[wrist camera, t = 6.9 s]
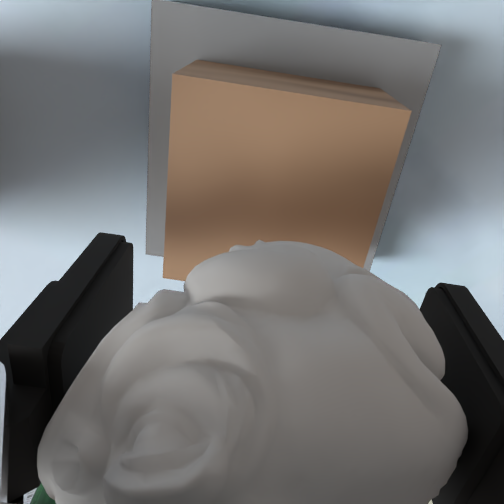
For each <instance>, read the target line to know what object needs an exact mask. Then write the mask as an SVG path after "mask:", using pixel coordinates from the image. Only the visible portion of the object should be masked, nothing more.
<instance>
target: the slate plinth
mask: <svg viewBox="0 0 504 504" xmlns="http://www.w3.org/2000/svg"><path fill="white" fill-rule="evenodd" d="M440 48H441V45H439V44H434V43H428V42H423V41H417V40H411V39H405V38H399V37H392V36H386V35H380V34H374V33H367V32H361V31H355V30H349V29H342V28H336V27H330V26H324V25H317V24H311V23H305V22H299V21H292V20H286V19H280V18H274V17H267V16H261V15H255V14H248V13H242V12H236V11H230V10H223V9H217V8H211V7H205V6H198V5H192V4H186V3H180V2H173V1H167V0H152V8H151V50H150V92H149V134H148V176H147V219H146V254H148V255H155V256H162V257H164V241H165V220H166V199H167V177H168V156H169V135H170V114H171V92H172V74H173V73H175V72H176V71H178V70H180V69H182V68H183V67H185V66H187V65H188V64H190V63H192V62H194V61H195V60H203V61H209V62H215V63H222V64H228V65H234V66H241V67H247V68H254V69H260V70H266V71H273V72H279V73H285V74H292V75H298V76H305V77H311V78H317V79H324V80H330V81H336V82H343V83H349V84H356V85H362V86H368V87H375V88H380V89H382V90H383V91H385V92H386V93H387V94H389V95H390V96H392V97H393V98H394V99H396V100H397V101H398V102H400V103H401V104H403V105H404V106H405V107H407V108H408V109H410V110H411V111H412V112H411V115H410V118H409V121H408V125H407V128H406V131H405V134H404V137H403V141H402V144H401V147H400V150H399V154H398V157H397V160H396V163H395V167H394V170H393V173H392V176H391V180H390V183H389V186H388V189H387V193H386V196H385V199H384V202H383V205H382V209H381V212H380V215H379V218H378V222H377V225H376V228H375V231H374V235H373V238H372V241H371V244H370V248H369V251H368V254H367V257H366V261H365V264H364V267H363V268H364V269H366V270H367V271H370V268H371V265H372V262H373V259H374V256H375V252H376V249H377V246H378V243H379V240H380V237H381V234H382V230H383V227H384V224H385V221H386V218H387V215H388V212H389V209H390V205H391V202H392V199H393V196H394V193H395V190H396V187H397V183H398V180H399V177H400V174H401V171H402V168H403V165H404V161H405V158H406V155H407V152H408V149H409V146H410V143H411V139H412V136H413V133H414V130H415V127H416V124H417V121H418V117H419V114H420V111H421V108H422V105H423V102H424V99H425V95H426V92H427V89H428V86H429V83H430V80H431V77H432V74H433V70H434V67H435V64H436V61H437V58H438V55H439V52H440Z"/></svg>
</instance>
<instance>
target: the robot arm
mask: <svg viewBox="0 0 504 504" xmlns="http://www.w3.org/2000/svg"><path fill="white" fill-rule="evenodd" d="M132 310H133V244H132V243H128V242H126V239H125V237H124V236H121V235H115V234H108V233H98V234H97V236H96V237H95V238H94V239H93V240H92V242H91V243H90V244H89V245H88V246H87V248H86V249H85V250H84V251H83V252H82V254H81V255H80V256H79V257H78V259H77V260H76V261H75V262H74V263H73V265H72V266H71V267H70V268H69V269H68V271H67V272H66V273H65V274H64V275H63V277H62V278H61V279H60V280H59V281H51V282H50V283H49V284H48V285H47V286H46V287H45V288H44V289H43V291H42V292H41V293H40V294H39V295H38V296H37V298H36V299H35V300H34V301H33V302H32V303H31V305H30V306H29V307H28V308H27V309H26V310H25V312H24V313H23V314H22V315H21V316H20V317H19V319H18V320H17V321H16V322H15V323H14V324H13V326H12V327H11V328H10V329H9V330H8V331H7V333H6V334H5V335H4V336H3V337H2V338H1V340H0V504H27V493H28V492H30V491H32V490H33V489H35V488H37V487H39V486H40V484H41V481H40V479H39V476H38V469H37V453H38V446H39V444H40V441H41V439H42V436H43V433H44V431H45V428H46V426H47V425H48V423H49V421H50V420H51V418H52V416H53V415H54V413H55V411H56V410H57V408H58V406H59V404H60V403H61V401H62V399H63V398H64V396H65V394H66V393H67V391H68V389H69V388H70V386H71V385H72V383H73V381H74V380H75V378H76V377H77V375H78V374H79V372H80V371H81V369H82V368H83V366H84V365H85V364H86V362H87V361H88V359H89V358H90V356H91V355H92V353H93V352H94V351H95V349H96V348H97V346H98V345H99V343H100V342H101V340H102V339H103V338H104V337H105V336H106V335H107V334H108V333H109V332H110V331H111V329H112V328H113V327H114V326H115V325H117V324H118V323H119V322H120V321H121V320H122V319H123V318H124V317H126V316H127V315H128V314H129V313H130V312H131V311H132ZM420 311H421V313H422V315H423V317H424V319H425V320H426V322H427V323H428V325H429V326H430V327H431V329H432V330H433V332H434V334H435V336H436V338H437V340H438V342H439V344H440V346H441V348H442V351H443V354H444V358H445V374H444V376H443V378H442V379H441V380H440V381H441V382H442V383H443V384H444V385H445V386H446V387H447V388H448V389H449V390H450V391H451V392H452V393H453V394H454V396H455V397H456V399H457V400H458V402H459V403H460V405H461V407H462V409H463V412H464V414H465V416H466V420H467V426H468V439H467V442H466V444H465V446H464V448H463V450H462V455H461V456H460V457H459V458H458V460H457V466H456V468H455V470H454V471H453V473H452V474H451V476H450V478H449V479H448V481H447V484H445V485H444V486H443V487H442V488H440V491H439V495H438V496H436V497H435V498H433V499H432V502H433V504H504V340H503V339H502V338H501V336H500V335H499V333H498V332H497V330H496V329H495V328H494V326H493V325H492V323H491V322H490V320H489V319H488V317H487V316H486V315H485V313H484V312H483V310H482V309H481V307H480V306H479V305H478V303H477V302H476V300H475V299H474V297H473V296H472V295H471V293H470V292H469V290H468V289H467V288H466V287H465V286H460V285H453V284H446V283H439V284H437V285H436V287H435V288H433V287H431V288H429V289H428V291H427V293H426V295H425V298H424V300H423V303H422V305H421V308H420Z"/></svg>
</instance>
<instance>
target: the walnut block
mask: <svg viewBox="0 0 504 504" xmlns="http://www.w3.org/2000/svg"><path fill="white" fill-rule="evenodd" d="M411 112H412V111H411V110H410V109H408V108H407V107H405V106H404V105H403V104H401V103H400V102H398V101H397V100H396V99H394V98H393V97H392V96H390V95H389V94H387V93H386V92H385V91H383V90H382V89H380V88H375V87H368V86H362V85H356V84H349V83H343V82H336V81H330V80H324V79H317V78H311V77H305V76H298V75H292V74H285V73H279V72H273V71H266V70H260V69H254V68H247V67H241V66H234V65H228V64H222V63H215V62H209V61H203V60H195V61H194V62H192V63H190V64H188V65H187V66H185V67H183V68H182V69H180V70H178V71H176V72H175V73H173V74H172V92H171V114H170V135H169V156H168V177H167V199H166V220H165V241H164V262H163V278H167V279H174V280H181V281H186V278H187V276H188V274H189V273H190V272H191V271H192V270H193V268H194V267H195V266H197V265H198V264H200V263H201V262H203V261H205V260H207V259H209V258H212V257H214V256H216V255H219V254H222V253H226V252H229V250H230V248H231V247H233V246H235V245H242V246H252V245H254V244H255V243H256V241H258V240H261V241H263V242H274V241H293V242H302V243H307V244H312V245H315V246H319V247H322V248H325V249H328V250H330V251H332V252H334V253H336V254H339V255H340V256H342V257H344V258H346V259H347V260H349V261H350V262H352V263H354V264H355V265H357V266H359V267H361V268H363V267H364V264H365V261H366V257H367V254H368V251H369V248H370V244H371V241H372V238H373V235H374V231H375V228H376V225H377V222H378V218H379V215H380V212H381V209H382V205H383V202H384V199H385V196H386V193H387V189H388V186H389V183H390V180H391V176H392V173H393V170H394V167H395V163H396V160H397V157H398V154H399V150H400V147H401V144H402V141H403V137H404V134H405V131H406V128H407V125H408V121H409V118H410V115H411Z"/></svg>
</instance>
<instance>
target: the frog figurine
mask: <svg viewBox="0 0 504 504" xmlns="http://www.w3.org/2000/svg"><path fill="white" fill-rule="evenodd" d="M444 374H445V358H444V354H443V351H442V348H441V346H440V344H439V342H438V340H437V338H436V336H435V334H434V332H433V330H432V329H431V327H430V326H429V325H428V323H427V322H426V320H425V319H424V317H423V315H422V313H421V311H420V310H419V308H418V307H417V305H416V304H415V303H414V302H413V301H412V300H411V299H410V298H409V297H408V296H407V295H406V294H405V293H403V292H401V291H399V290H398V289H396V288H394V287H393V286H391V285H389V284H388V283H386V282H384V281H383V280H381V279H380V278H378V277H377V276H375V275H374V274H372V273H370V272H369V271H367V270H366V269H364V268H361V267H359V266H357V265H355V264H354V263H352V262H350V261H349V260H347V259H346V258H344V257H342V256H340V255H339V254H336V253H334V252H332V251H330V250H328V249H325V248H322V247H319V246H315V245H312V244H307V243H302V242H293V241H274V242H263V241H261V240H258V241H256V243H255V244H254V245H252V246H242V245H235V246H233V247H231V248H230V250H229V252H226V253H222V254H219V255H216V256H214V257H212V258H209V259H207V260H205V261H203V262H201V263H200V264H198V265H197V266H195V267H194V268H193V270H192V271H191V272H190V273H189V274H188V276H187V278H186V281H185V283H184V292H179V291H172V290H165V289H163V290H160V291H158V292H157V293H156V294H155V295H154V297H153V298H152V299H151V300H150V301H149V302H148V303H138V304H137V306H136V307H135V308H134V309H133V310H132V311H131V312H130V313H129V314H128V315H127V316H126V317H124V318H123V319H122V320H121V321H120V322H119V323H118V324H117V325H115V326H114V327H113V328H112V329H111V331H110V332H109V333H108V334H107V335H106V336H105V337H104V338H103V339H102V340H101V342H100V343H99V345H98V346H97V348H96V349H95V351H94V352H93V353H92V355H91V356H90V358H89V359H88V361H87V362H86V364H85V365H84V366H83V368H82V369H81V371H80V372H79V374H78V375H77V377H76V378H75V380H74V381H73V383H72V385H71V386H70V388H69V389H68V391H67V393H66V394H65V396H64V398H63V399H62V401H61V403H60V404H59V406H58V408H57V410H56V411H55V413H54V415H53V416H52V418H51V420H50V421H49V423H48V425H47V426H46V428H45V431H44V433H43V436H42V439H41V441H40V444H39V446H38V453H37V469H38V476H39V479H40V481H41V483H42V485H43V487H44V489H45V491H46V492H47V494H48V495H49V497H50V498H52V499H54V500H55V503H56V504H428V503H429V501H430V500H431V499H433V498H435V497H436V496H438V495H439V491H440V488H442V487H443V486H444V485H445V484H447V481H448V479H449V478H450V476H451V474H452V473H453V471H454V470H455V468H456V466H457V460H458V458H459V457H460V456H461V455H462V450H463V448H464V446H465V444H466V442H467V439H468V426H467V420H466V416H465V414H464V412H463V409H462V407H461V405H460V403H459V402H458V400H457V399H456V397H455V396H454V394H453V393H452V392H451V391H450V390H449V389H448V388H447V387H446V386H445V385H444V384H443V383H442V382H441V381H440V380H441V379H442V378H443V376H444Z"/></svg>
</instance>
